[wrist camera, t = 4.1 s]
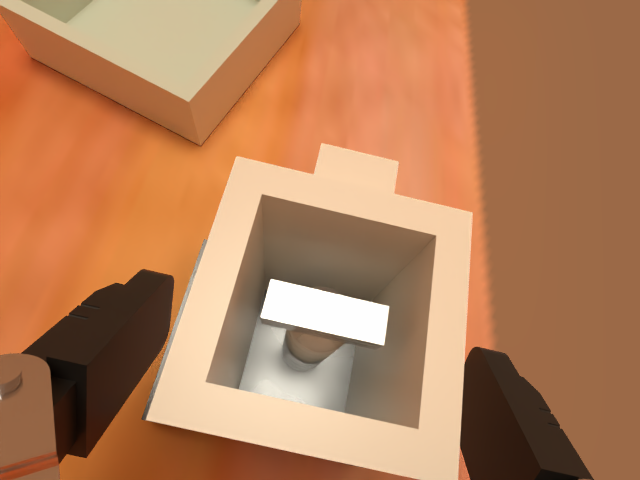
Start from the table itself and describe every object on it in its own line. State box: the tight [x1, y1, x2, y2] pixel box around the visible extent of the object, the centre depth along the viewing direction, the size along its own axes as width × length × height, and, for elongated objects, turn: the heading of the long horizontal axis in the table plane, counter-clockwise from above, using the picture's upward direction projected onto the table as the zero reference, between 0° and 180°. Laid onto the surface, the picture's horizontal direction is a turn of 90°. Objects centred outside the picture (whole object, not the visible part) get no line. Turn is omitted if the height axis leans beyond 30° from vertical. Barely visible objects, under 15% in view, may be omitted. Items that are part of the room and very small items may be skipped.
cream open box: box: [146, 143, 473, 480], centre depth 12 cm, size 6×7×8 cm
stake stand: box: [142, 239, 389, 468], centre depth 13 cm, size 8×7×8 cm
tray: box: [0, 0, 301, 146], centre depth 21 cm, size 10×10×3 cm
